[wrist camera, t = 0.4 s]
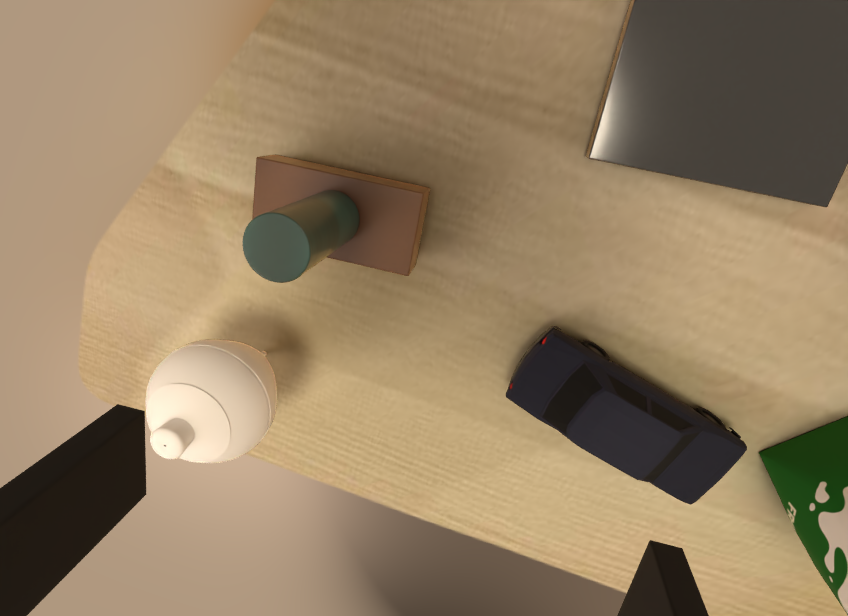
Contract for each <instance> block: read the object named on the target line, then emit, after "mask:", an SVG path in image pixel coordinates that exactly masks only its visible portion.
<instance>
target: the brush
mask: <svg viewBox="0 0 848 616" xmlns="http://www.w3.org/2000/svg"><path fill="white" fill-rule="evenodd" d="M429 193H430V188H427V187H423V186H418V185H414V184H409V183H404V182H400V181H395V180H391V179H386V178H381V177H377V176H372V175H368V174H363V173H358V172H354V171H349V170H345V169H340V168H335V167H331V166H326V165H321V164H317V163H312V162H308V161H303V160H298V159H294V158H289V157H285V156H280V155H268V156H261V157H257V161H256V175H255V189H254V203H253V218H252V221H251V222H250V223H249V224H248V226H247V227H246V230H245V232H244V236H243V251H244V254H245V257H246V259H247V261H248V263H249V265H250V266H251V267H252V269H253V270H254V271H255V272H256V273H257V274H259V275H260V276H261V277H263V278H265V279H267V280H270V281H273V282H279V283H284V282H290V281H293V280H295V279H297V278H298V277H300V276H301V275H302V274H304V273H305V272H307V271H308V270H309V269H311V268H312V267H313V266H315V265H316V264H318V263H319V262H320V261H322V260H323V259H324V258H326V257H328V258H332V259H337V260H341V261H345V262H349V263H354V264H358V265H362V266H367V267H371V268H375V269H380V270H384V271H388V272H392V273H397V274H401V275H405V276H409V274H410V273H411V271H412V270H413V268H414V267H415V265H416V261H417V256H418V251H419V245H420V240H421V235H422V230H423V224H424V219H425V214H426V209H427V203H428V198H429Z"/></svg>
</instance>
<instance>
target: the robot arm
mask: <svg viewBox="0 0 848 616" xmlns="http://www.w3.org/2000/svg"><path fill="white" fill-rule="evenodd" d="M145 461H146V460H145V411H142V410H138V409H134V408H130V407H126V406H122V405H118V404H117V405H116V406H115V407H113V408H112V409H111V410H109V411H108V412H106V413H105V414H104V415H102V416H101V417H99V418H98V419H97V420H95V421H94V422H92V423H91V424H90V425H88V426H87V427H85V428H84V429H83V430H81V431H80V432H78V433H77V434H76V435H74V436H73V437H71V438H70V439H69V440H67V441H66V442H64V443H63V444H62V445H60V446H59V447H57V448H56V449H55V450H53V451H52V452H51V453H49V454H48V455H46V456H45V457H43V458H42V459H41V460H39V461H38V462H36V463H35V464H34V465H33V466H31V467H29V468H28V469H27V470H25V471H24V472H22V473H21V474H20V475H18V476H17V477H15V478H14V479H13V480H11V481H10V482H8V483H7V484H6V485H4V486H3V487H2V488H0V616H27V615H28V614H29V613H30V612H31V611H32V610H33V609H34V608H35V606H37V605H38V603H40V601H41V600H42V599H44V597H46V595H47V594H48V593H49V592H50V591H51V590H52V589H53V588H54V587H55V586H56V585H57V584H58V583H59V582H60V581H61V580H62V579H63V578H64V577H65V576H66V575H67V574H68V573H69V572H70V571H71V570H72V569H73V568H74V567H75V566H76V565H77V564H78V563H79V562H80V561H81V560H82V559H83V558H84V557H85V556H86V555H87V554H88V553H89V552H90V551H91V550H92V549H93V548H94V547H95V546H96V545H97V544H98V543H99V542H100V541H101V540H102V538H103V537H105V536H106V535H107V534H108V532H110V531H111V530H112V529H113V528H114V526H115V525H116V524H117V523H118V522H119V521H120V520H121V519H122V518H123V517H124V516H125V515H126V514H127V513H128V512H129V511H130V510H131V509H132V508H133V507H134V506H135V505H136V504H137V503H138V502H139V501H140V500H141V499H142V498H143V497H144V496H145V495H146V464H145V463H146V462H145ZM618 616H709V615H708V613H707V610H706V608H705V605H704V603H703V600H702V598H701V595H700V592H699V590H698V587H697V585H696V582H695V580H694V577H693V575H692V572H691V569H690V567H689V564H688V562H687V559H686V557H685V554H684V552H683V549H682V548H678V547H675V546H671V545H667V544H663V543H659V542H655V541H651V540H650V541H649V543H648V546H647V548H646V550H645V553H644V555H643V557H642V560H641V562H640V564H639V567H638V569H637V571H636V574H635V576H634V578H633V581H632V583H631V585H630V588H629V590H628V592H627V595H626V597H625V599H624V602H623V604H622V606H621V609H620V611H619V613H618Z"/></svg>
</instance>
